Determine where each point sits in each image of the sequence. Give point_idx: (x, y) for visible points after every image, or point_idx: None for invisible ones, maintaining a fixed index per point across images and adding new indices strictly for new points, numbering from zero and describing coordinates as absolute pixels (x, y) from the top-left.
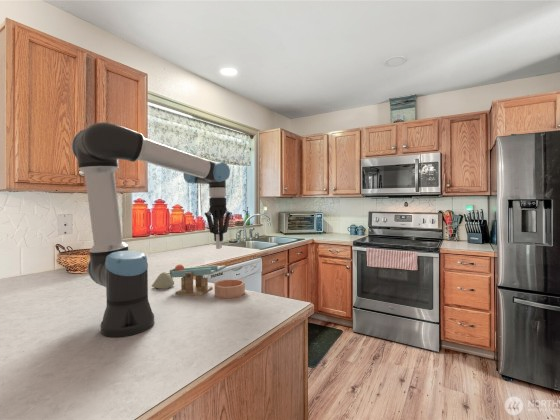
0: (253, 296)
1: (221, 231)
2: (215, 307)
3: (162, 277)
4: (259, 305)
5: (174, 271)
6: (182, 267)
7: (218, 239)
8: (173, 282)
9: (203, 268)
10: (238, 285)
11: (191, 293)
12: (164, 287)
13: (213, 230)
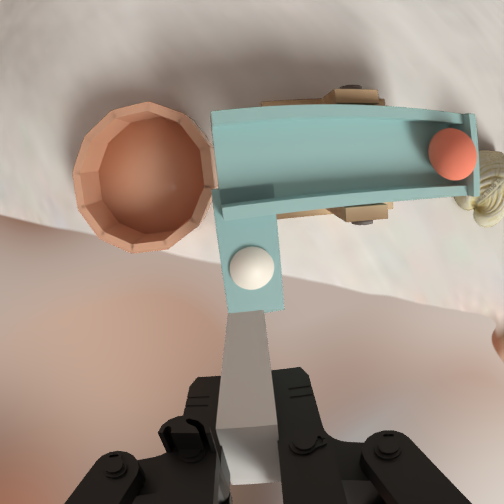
0: (56, 183)
1: (164, 481)
2: (123, 26)
3: (495, 161)
4: (12, 114)
5: (449, 113)
6: (440, 148)
7: (227, 375)
8: (459, 197)
9: (324, 194)
10: (81, 162)
11: (306, 99)
12: None
13: (362, 493)
